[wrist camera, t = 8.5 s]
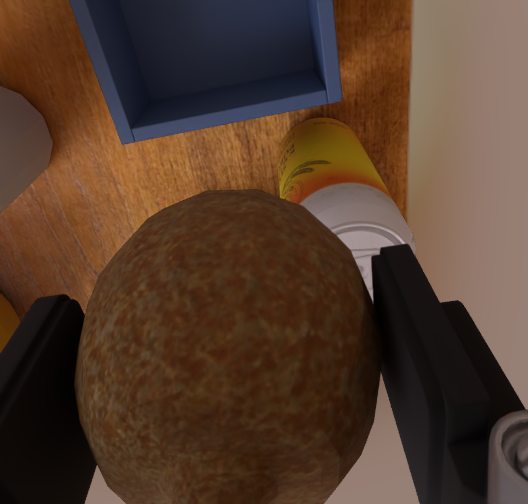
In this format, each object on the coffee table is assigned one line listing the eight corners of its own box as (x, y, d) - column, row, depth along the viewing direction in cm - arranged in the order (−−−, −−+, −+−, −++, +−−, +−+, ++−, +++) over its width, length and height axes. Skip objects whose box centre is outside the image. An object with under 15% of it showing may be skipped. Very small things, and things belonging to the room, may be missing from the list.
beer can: (269, 123, 32) (277, 229, 19) (356, 106, 32) (422, 203, 19) (283, 200, 35) (299, 333, 23) (362, 185, 35) (423, 314, 22)
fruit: (324, 336, 15) (364, 634, 8) (135, 311, 15) (18, 603, 8) (379, 160, 12) (517, 418, 5) (138, 121, 12) (-55, 344, 5)
